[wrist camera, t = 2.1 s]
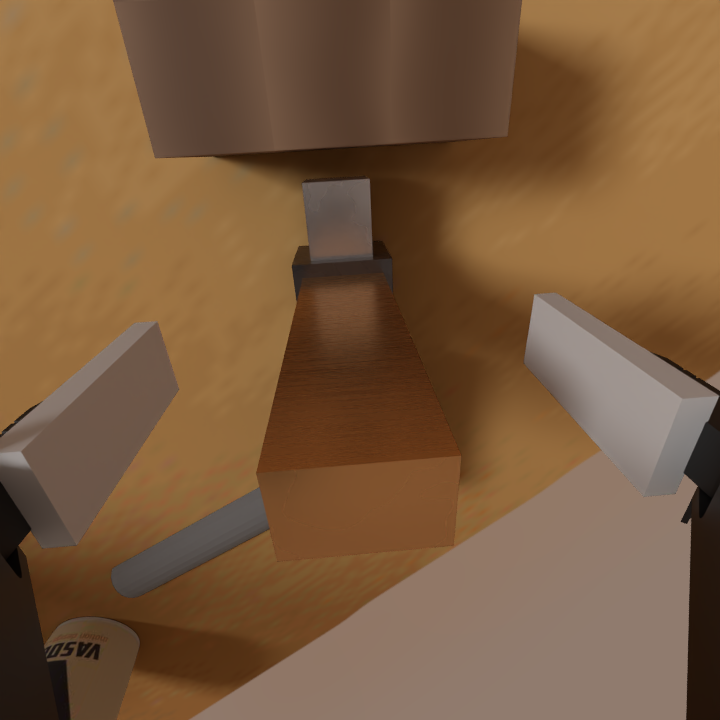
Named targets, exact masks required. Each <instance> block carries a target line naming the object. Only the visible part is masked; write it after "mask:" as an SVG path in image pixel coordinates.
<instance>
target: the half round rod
mask: <svg viewBox="0 0 720 720" xmlns="http://www.w3.org/2000/svg"><path fill="white" fill-rule="evenodd" d="M268 529H269V524H268V520H267V516H266V512H265V508H264V503H263V499H262V495H261V491H260V487H259V488H257V489H255V490H253V491H252V492H250V493H248V494H246V495H244V496H243V497H241V498H239V499H237V500H235V501H234V502H232V503H230V504H228V505H226V506H225V507H223V508H221V509H219V510H217V511H215V512H214V513H212V514H210V515H208V516H206V517H205V518H203V519H201V520H199V521H197V522H196V523H194V524H192V525H190V526H188V527H186V528H185V529H183V530H181V531H179V532H177V533H176V534H174V535H172V536H170V537H168V538H167V539H165V540H163V541H161V542H159V543H157V544H156V545H154V546H152V547H150V548H148V549H147V550H145V551H143V552H141V553H139V554H138V555H136V556H134V557H132V558H130V559H128V560H127V561H125V562H123V563H121V564H119V565H118V566H116V567H114V568H113V569H112V574H111V580H112V583H113V586H114V588H115V589H116V591H117V592H118V593H120V594H121V595H122V596H125V597H128V598H135V597H138V596H141V595H143V594H145V593H147V592H149V591H151V590H153V589H155V588H157V587H158V586H160V585H162V584H164V583H166V582H168V581H170V580H172V579H174V578H176V577H178V576H180V575H182V574H183V573H185V572H187V571H189V570H191V569H193V568H195V567H197V566H199V565H201V564H203V563H205V562H207V561H208V560H210V559H212V558H214V557H216V556H218V555H220V554H222V553H224V552H226V551H228V550H230V549H232V548H233V547H235V546H237V545H239V544H241V543H243V542H245V541H247V540H249V539H251V538H253V537H255V536H257V535H258V534H260V533H262V532H264V531H266V530H268Z"/></svg>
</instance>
